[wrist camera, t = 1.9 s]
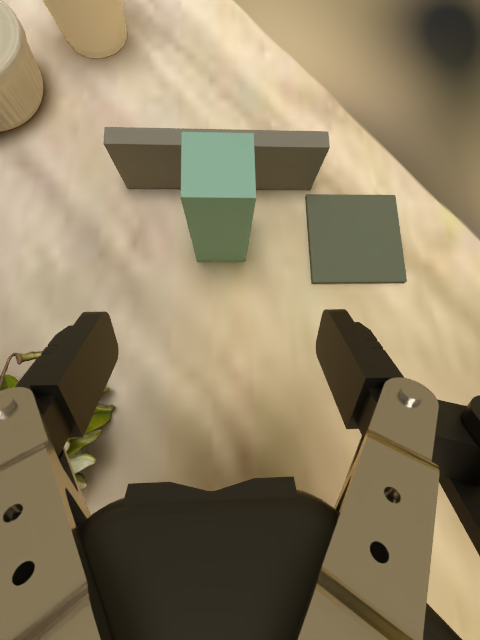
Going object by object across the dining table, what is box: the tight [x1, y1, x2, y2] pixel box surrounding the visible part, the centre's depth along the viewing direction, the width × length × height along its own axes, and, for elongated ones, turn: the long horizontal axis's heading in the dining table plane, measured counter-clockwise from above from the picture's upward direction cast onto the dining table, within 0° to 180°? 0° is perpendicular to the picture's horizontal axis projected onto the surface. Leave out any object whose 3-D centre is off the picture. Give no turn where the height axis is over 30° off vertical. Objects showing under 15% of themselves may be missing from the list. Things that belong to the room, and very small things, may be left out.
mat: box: [305, 194, 407, 283], centre depth 28 cm, size 9×9×1 cm
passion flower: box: [0, 351, 114, 489], centre depth 20 cm, size 11×11×12 cm
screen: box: [104, 127, 330, 190], centre depth 26 cm, size 18×4×6 cm, turn 91°
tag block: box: [181, 132, 256, 262], centre depth 22 cm, size 4×5×10 cm
